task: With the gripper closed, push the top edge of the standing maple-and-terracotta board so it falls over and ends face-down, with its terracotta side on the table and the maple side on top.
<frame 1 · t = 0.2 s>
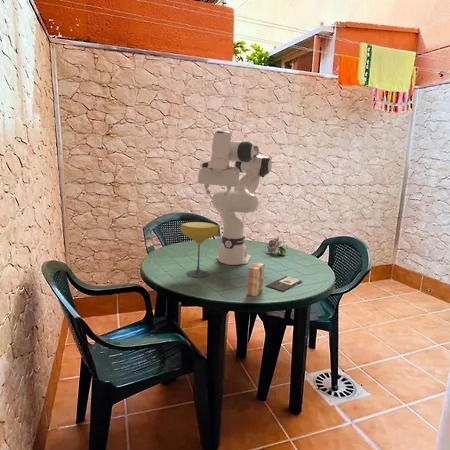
hand: (216, 195, 162), 39 cm above the table, tool pointing down, fingers open, 8 cm apart
maple board: (255, 291, 149), on the table
cocktail glass: (198, 274, 168), on the table
passion flower: (275, 253, 211), on the table
chocolate bar: (284, 285, 160), on the table
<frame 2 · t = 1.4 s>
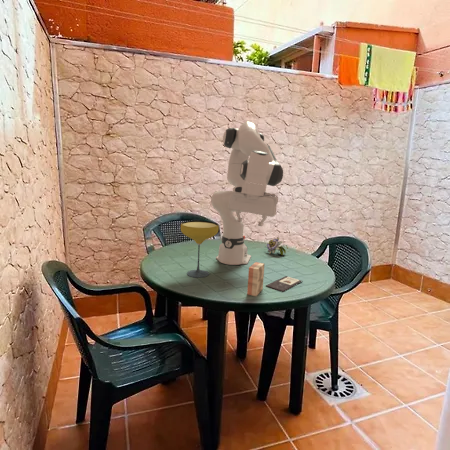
hand: (249, 223, 143), 30 cm above the table, tool pointing down, fingers open, 8 cm apart
nothing on the table moved.
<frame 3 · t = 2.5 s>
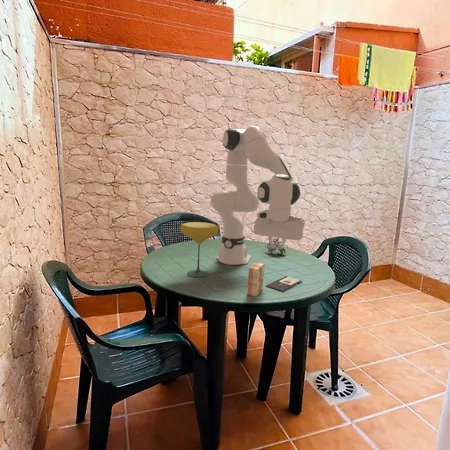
hand: (276, 247, 142), 21 cm above the table, tool pointing down, fingers closed
nothing on the table moved.
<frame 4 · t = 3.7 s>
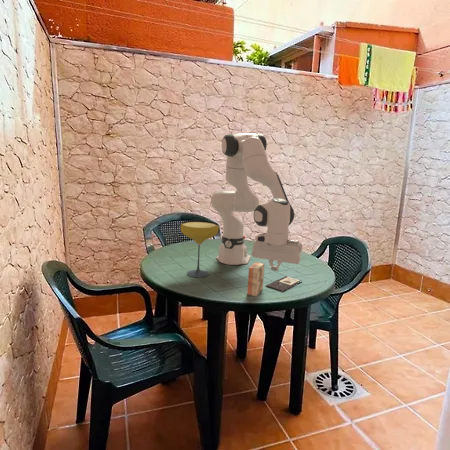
hand: (274, 270, 144), 11 cm above the table, tool pointing down, fingers closed
nothing on the table moved.
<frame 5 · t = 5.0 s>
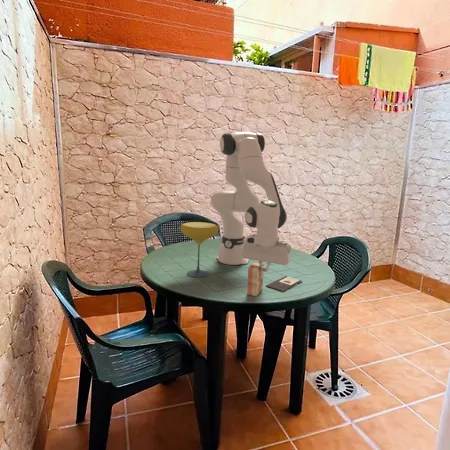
hand: (264, 271, 146), 10 cm above the table, tool pointing down, fingers closed
maple board: (255, 291, 149), on the table, touching gripper
everything else where it was.
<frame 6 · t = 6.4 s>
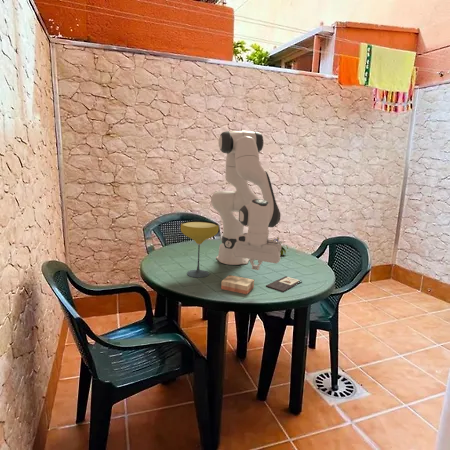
hand: (255, 269, 147), 10 cm above the table, tool pointing down, fingers closed
maple board: (250, 287, 150), point 2 cm above the table, tilted 90°
everything else where it was.
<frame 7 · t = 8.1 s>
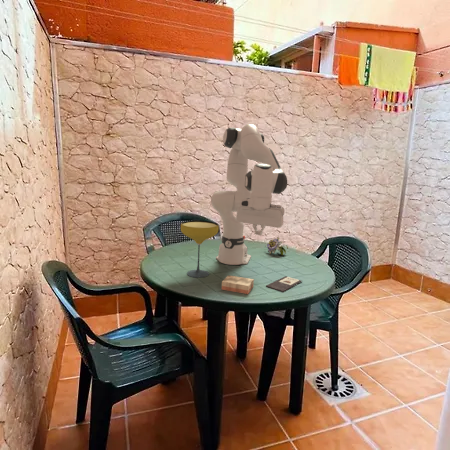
hand: (258, 234, 147), 25 cm above the table, tool pointing down, fingers closed
nothing on the table moved.
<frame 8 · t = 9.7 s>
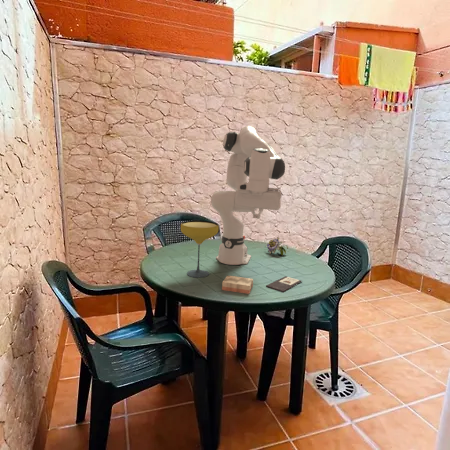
hand: (256, 218, 151), 31 cm above the table, tool pointing down, fingers closed
nothing on the table moved.
at the end: maple board tilted 90°; maple board inside the target area (1.5 cm from its centre), point 1.6 cm above the table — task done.
